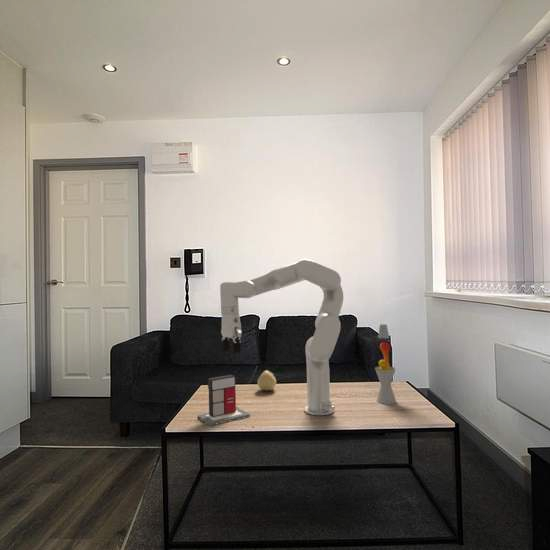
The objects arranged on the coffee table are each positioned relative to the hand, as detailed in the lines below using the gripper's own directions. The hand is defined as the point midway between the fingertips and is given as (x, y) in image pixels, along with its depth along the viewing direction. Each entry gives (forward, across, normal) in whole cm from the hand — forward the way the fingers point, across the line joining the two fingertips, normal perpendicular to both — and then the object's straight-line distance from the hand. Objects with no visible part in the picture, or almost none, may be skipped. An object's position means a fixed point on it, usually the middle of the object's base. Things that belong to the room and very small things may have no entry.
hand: (231, 351), depth 157 cm
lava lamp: (+28, -28, -63) cm, 75 cm away
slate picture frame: (+26, 0, +5) cm, 27 cm away
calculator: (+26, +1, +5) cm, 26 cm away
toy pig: (+27, +23, -32) cm, 47 cm away
